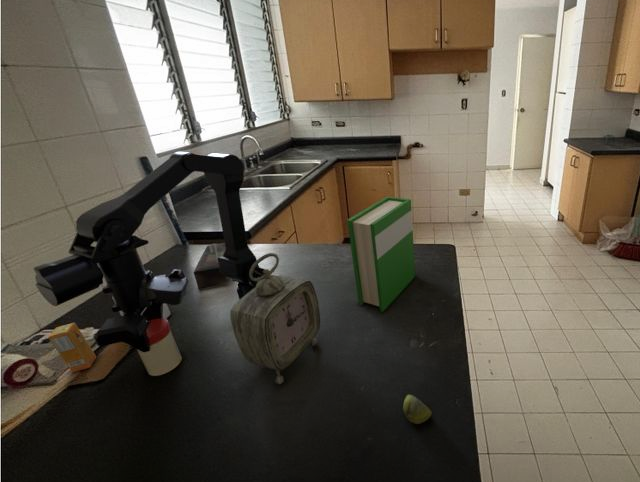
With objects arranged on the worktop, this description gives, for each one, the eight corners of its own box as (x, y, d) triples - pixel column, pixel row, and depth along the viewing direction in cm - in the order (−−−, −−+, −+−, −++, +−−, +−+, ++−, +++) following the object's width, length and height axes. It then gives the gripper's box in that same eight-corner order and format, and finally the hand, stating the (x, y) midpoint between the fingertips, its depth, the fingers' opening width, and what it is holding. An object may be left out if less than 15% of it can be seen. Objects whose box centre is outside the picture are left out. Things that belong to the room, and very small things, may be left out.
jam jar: (185, 350, 75) (172, 318, 71) (176, 371, 69) (161, 337, 66) (154, 358, 73) (139, 325, 69) (142, 379, 68) (125, 345, 64)
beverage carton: (237, 256, 115) (232, 238, 112) (229, 285, 98) (222, 266, 96) (211, 261, 112) (205, 243, 110) (198, 292, 96) (191, 272, 93)
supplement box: (77, 362, 73) (55, 326, 69) (97, 357, 74) (77, 321, 70) (69, 374, 70) (46, 336, 66) (90, 368, 71) (69, 331, 67)
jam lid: (125, 350, 64) (122, 343, 64) (140, 328, 70) (137, 322, 69) (164, 342, 66) (161, 335, 65) (175, 321, 72) (172, 315, 71)
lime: (404, 406, 60) (403, 386, 58) (432, 406, 59) (431, 386, 57) (403, 430, 55) (401, 409, 53) (432, 430, 55) (431, 409, 53)
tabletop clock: (280, 393, 63) (248, 281, 53) (244, 381, 66) (207, 273, 56) (325, 340, 75) (306, 242, 66) (293, 332, 78) (270, 236, 69)
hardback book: (383, 311, 84) (373, 224, 75) (359, 304, 87) (347, 220, 78) (415, 276, 98) (410, 199, 89) (393, 271, 102) (387, 196, 92)
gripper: (156, 292, 56) (184, 363, 62) (189, 246, 73) (209, 305, 79) (75, 307, 53) (112, 379, 59) (129, 255, 70) (154, 316, 76)
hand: (153, 340), depth 68 cm, fingers closed on jam lid, 6 cm apart
